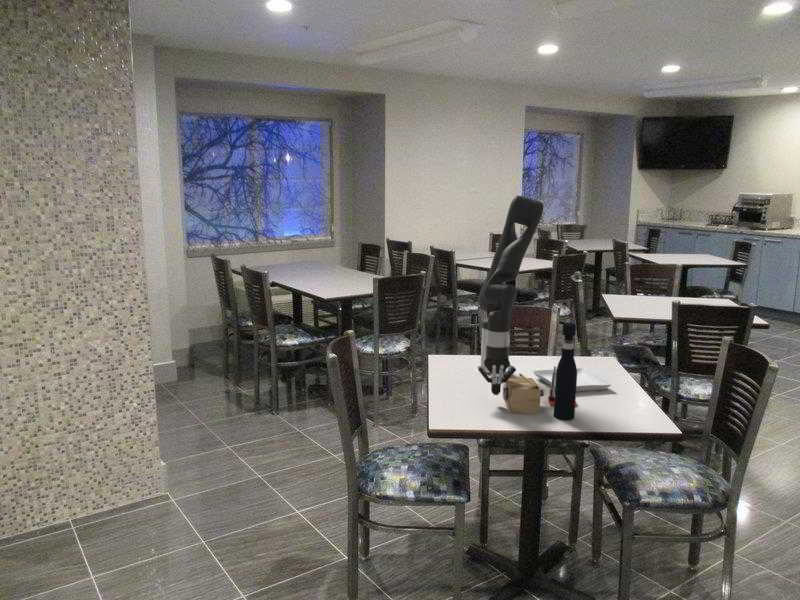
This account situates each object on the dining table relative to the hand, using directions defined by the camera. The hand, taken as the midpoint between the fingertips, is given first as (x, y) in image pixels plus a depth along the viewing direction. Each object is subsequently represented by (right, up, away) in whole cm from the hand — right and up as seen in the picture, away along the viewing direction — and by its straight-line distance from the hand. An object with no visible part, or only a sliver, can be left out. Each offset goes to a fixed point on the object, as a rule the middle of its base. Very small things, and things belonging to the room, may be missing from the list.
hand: (495, 394), depth 212 cm
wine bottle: (+20, -6, -10) cm, 23 cm away
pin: (+9, -2, +1) cm, 9 cm away
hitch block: (+8, -4, -1) cm, 9 cm away
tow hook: (+23, -4, +2) cm, 23 cm away
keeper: (+9, +5, -7) cm, 13 cm away
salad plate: (+31, 0, +23) cm, 39 cm away
